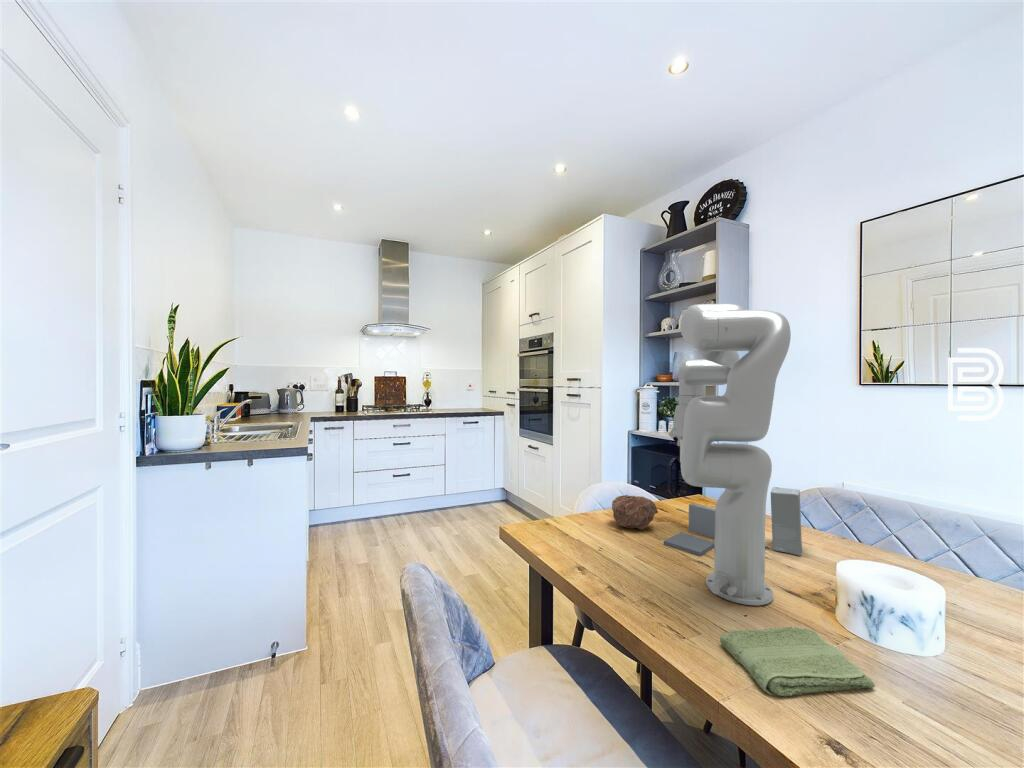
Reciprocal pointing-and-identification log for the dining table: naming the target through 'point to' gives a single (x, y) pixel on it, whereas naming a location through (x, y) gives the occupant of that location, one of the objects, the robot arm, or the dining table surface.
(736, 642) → the washcloth
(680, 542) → the mat
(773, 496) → the skincare box
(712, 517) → the screen
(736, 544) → the robot arm
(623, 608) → the dining table surface
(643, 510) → the decorative rock
